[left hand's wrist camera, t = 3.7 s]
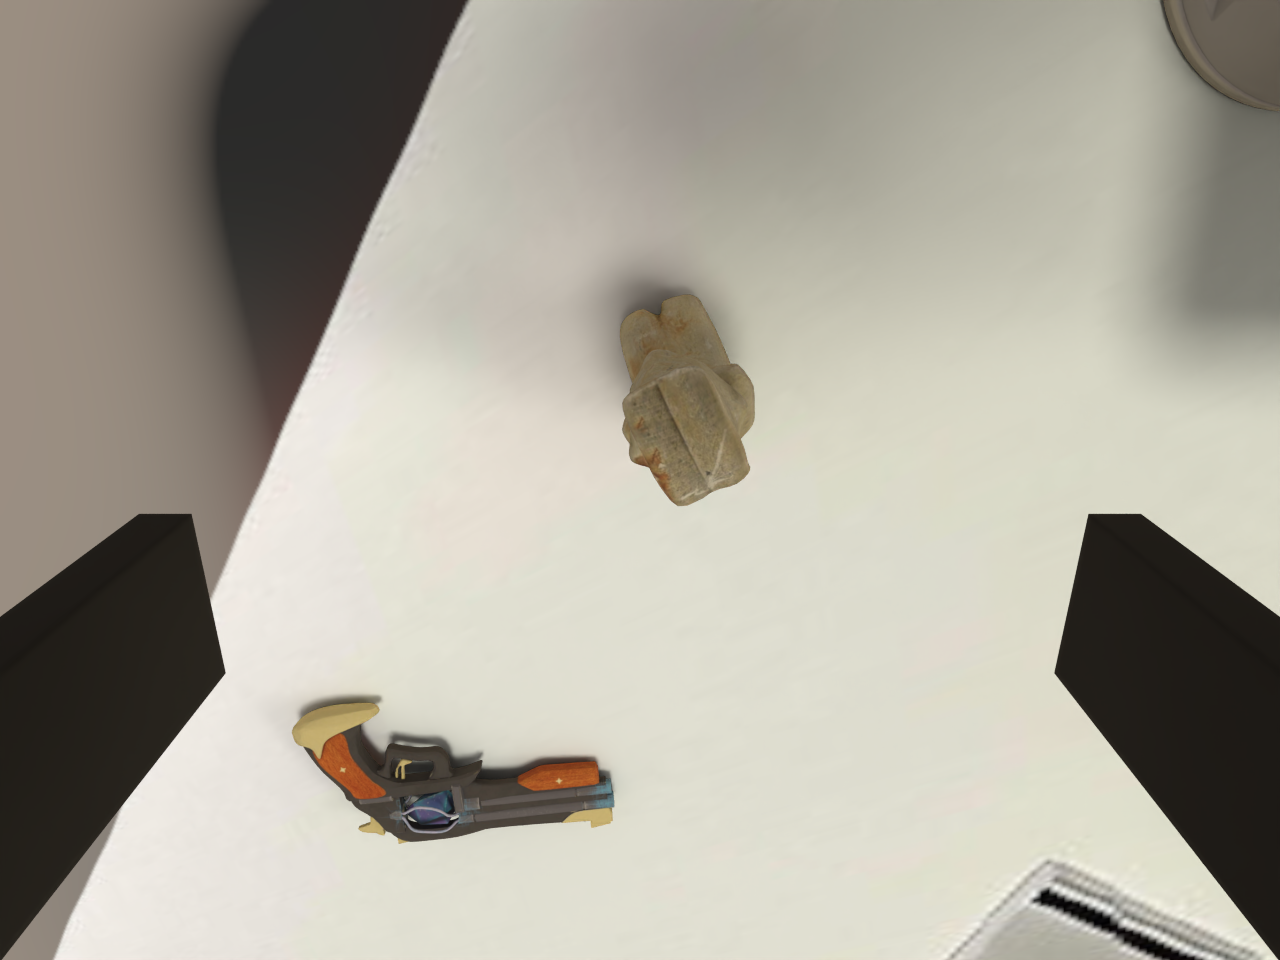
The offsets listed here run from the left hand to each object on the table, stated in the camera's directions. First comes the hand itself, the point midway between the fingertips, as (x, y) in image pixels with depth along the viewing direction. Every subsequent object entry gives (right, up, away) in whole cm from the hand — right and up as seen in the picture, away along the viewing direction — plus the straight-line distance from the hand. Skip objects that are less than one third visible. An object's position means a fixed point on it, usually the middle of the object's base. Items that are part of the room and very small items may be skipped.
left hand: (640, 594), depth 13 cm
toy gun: (-11, -16, +41) cm, 46 cm away
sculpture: (+2, +8, +32) cm, 33 cm away
